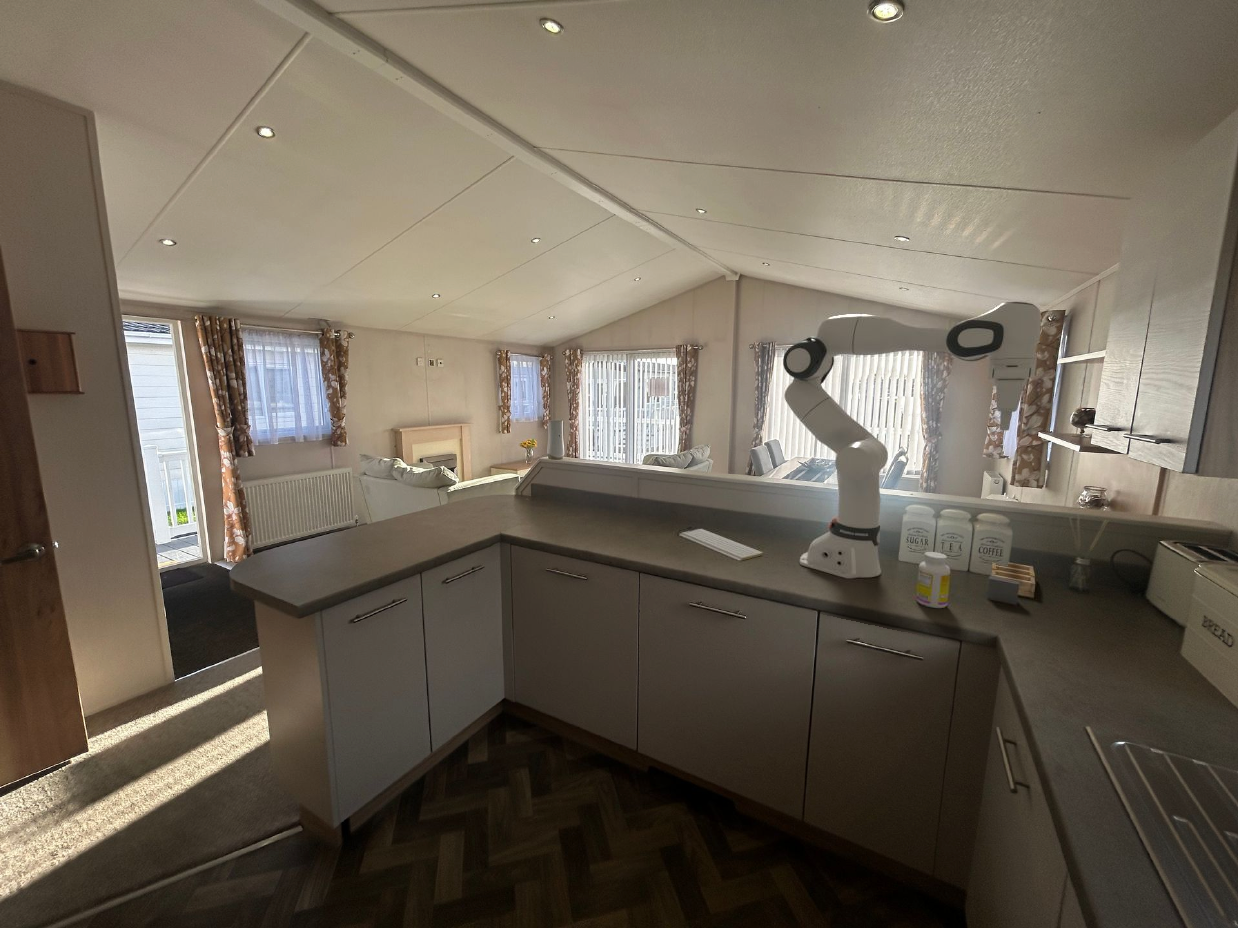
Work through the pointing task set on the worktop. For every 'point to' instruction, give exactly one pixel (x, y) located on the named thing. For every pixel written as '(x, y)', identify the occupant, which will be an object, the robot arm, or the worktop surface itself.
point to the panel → (1003, 590)
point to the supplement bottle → (933, 581)
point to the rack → (1017, 577)
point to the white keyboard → (721, 544)
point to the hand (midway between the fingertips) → (1004, 428)
